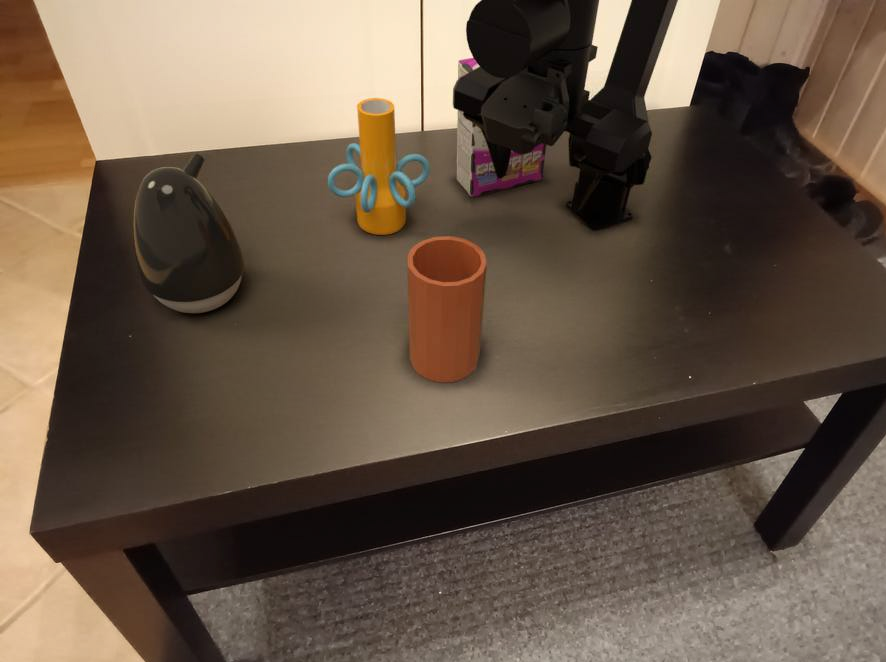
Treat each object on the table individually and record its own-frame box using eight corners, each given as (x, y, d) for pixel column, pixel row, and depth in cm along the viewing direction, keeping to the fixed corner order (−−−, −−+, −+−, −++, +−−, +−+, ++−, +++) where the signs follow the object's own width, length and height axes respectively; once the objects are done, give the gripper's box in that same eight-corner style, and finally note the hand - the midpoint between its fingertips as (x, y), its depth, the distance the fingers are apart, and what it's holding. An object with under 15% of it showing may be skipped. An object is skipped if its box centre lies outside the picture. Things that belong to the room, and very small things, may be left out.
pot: (458, 325, 75) (462, 228, 66) (491, 368, 71) (500, 271, 62) (398, 346, 72) (394, 248, 63) (429, 392, 68) (429, 294, 59)
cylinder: (409, 258, 82) (407, 141, 71) (324, 243, 83) (309, 126, 72) (435, 201, 90) (436, 89, 79) (357, 188, 91) (348, 76, 80)
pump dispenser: (269, 278, 78) (244, 155, 67) (215, 338, 71) (177, 213, 60) (190, 255, 80) (153, 133, 69) (130, 312, 73) (78, 186, 62)
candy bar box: (524, 163, 98) (538, 44, 86) (543, 181, 95) (559, 60, 83) (453, 179, 94) (456, 57, 82) (469, 199, 91) (476, 75, 79)
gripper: (415, 34, 59) (417, 193, 70) (610, 104, 52) (578, 268, 63) (491, -2, 65) (481, 150, 77) (673, 57, 59) (633, 213, 70)
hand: (538, 193), depth 71 cm, fingers open, 9 cm apart
